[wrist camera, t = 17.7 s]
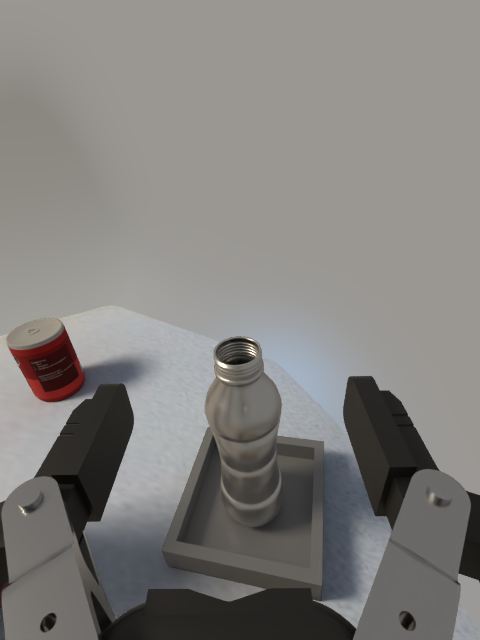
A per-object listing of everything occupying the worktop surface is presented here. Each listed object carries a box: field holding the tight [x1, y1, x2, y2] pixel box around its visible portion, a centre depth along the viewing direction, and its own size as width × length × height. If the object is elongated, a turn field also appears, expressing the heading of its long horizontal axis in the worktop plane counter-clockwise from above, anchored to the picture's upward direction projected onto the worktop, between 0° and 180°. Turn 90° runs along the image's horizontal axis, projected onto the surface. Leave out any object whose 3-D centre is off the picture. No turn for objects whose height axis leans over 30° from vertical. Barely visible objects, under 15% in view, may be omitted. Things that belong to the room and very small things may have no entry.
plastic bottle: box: [205, 336, 284, 527], centre depth 30 cm, size 6×7×20 cm
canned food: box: [6, 318, 84, 402], centre depth 52 cm, size 8×8×11 cm
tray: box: [162, 427, 324, 601], centre depth 35 cm, size 14×14×3 cm
